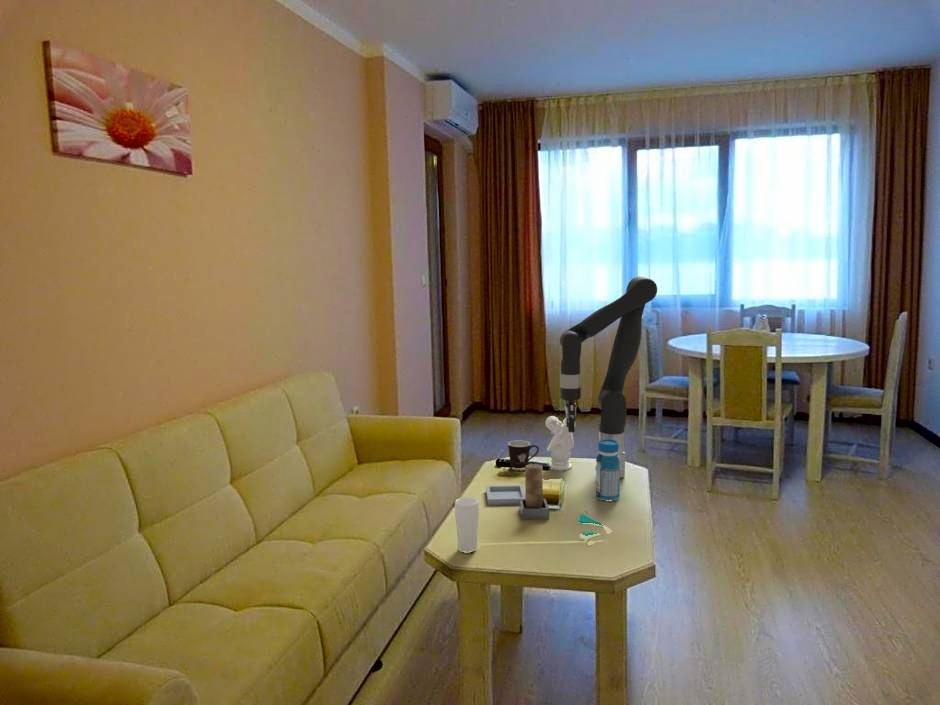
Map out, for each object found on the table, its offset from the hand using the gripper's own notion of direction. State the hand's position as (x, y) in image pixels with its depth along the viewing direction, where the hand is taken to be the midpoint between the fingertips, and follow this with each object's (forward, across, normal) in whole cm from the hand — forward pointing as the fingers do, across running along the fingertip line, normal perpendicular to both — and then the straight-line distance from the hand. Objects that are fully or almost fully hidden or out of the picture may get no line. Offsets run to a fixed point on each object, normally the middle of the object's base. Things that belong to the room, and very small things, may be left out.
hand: (570, 429), depth 256 cm
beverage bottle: (+20, -18, -11) cm, 29 cm away
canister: (+20, -34, +14) cm, 42 cm away
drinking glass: (+22, -60, +34) cm, 72 cm away
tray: (+20, -20, +24) cm, 37 cm away
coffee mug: (+18, +12, +18) cm, 28 cm away
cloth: (+22, -44, -3) cm, 49 cm away
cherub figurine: (+18, +15, +2) cm, 24 cm away
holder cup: (+21, -34, +14) cm, 42 cm away
